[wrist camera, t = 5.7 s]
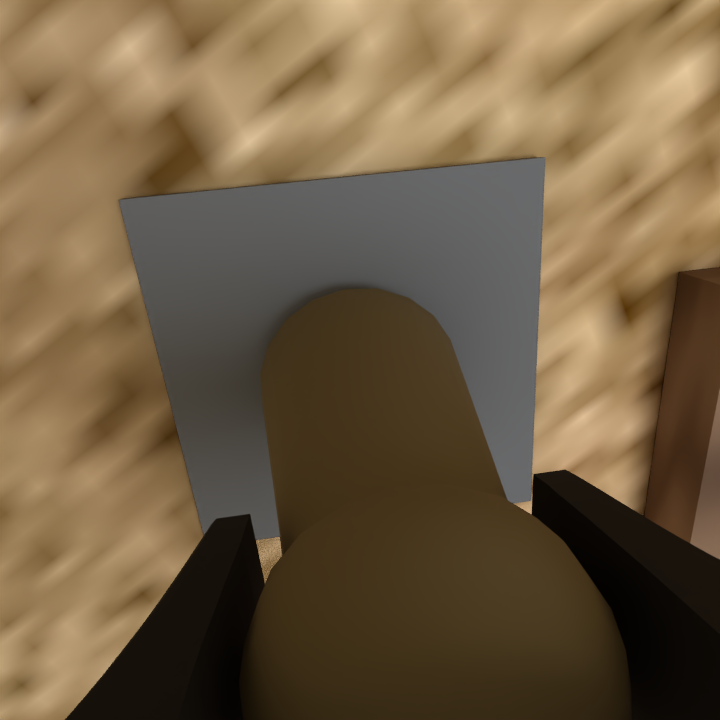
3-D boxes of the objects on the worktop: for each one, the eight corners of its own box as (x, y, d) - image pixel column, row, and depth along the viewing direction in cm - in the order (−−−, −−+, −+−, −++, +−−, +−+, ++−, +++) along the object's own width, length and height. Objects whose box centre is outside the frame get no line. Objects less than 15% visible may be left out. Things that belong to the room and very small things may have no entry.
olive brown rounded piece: (359, 498, 17) (438, 989, 7) (216, 389, 15) (56, 865, 5) (496, 379, 16) (817, 773, 6) (361, 242, 14) (511, 498, 4)
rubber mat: (525, 492, 20) (530, 500, 19) (209, 537, 19) (206, 546, 19) (537, 157, 15) (545, 157, 15) (124, 198, 15) (118, 199, 14)
